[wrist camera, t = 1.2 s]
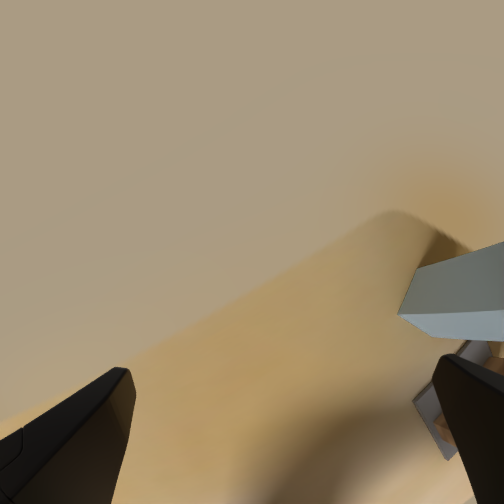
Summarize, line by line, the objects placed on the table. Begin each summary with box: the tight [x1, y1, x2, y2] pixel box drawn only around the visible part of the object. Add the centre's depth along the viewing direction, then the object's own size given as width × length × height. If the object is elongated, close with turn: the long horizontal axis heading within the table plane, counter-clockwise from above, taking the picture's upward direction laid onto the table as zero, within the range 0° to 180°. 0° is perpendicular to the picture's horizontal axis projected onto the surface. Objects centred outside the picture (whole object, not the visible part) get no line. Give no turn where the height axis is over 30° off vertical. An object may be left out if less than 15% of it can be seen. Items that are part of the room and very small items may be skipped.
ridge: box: [433, 357, 504, 448], centre depth 18 cm, size 3×9×4 cm, turn 125°
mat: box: [412, 340, 493, 461], centre depth 21 cm, size 10×10×1 cm
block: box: [397, 242, 504, 341], centre depth 16 cm, size 4×4×13 cm
